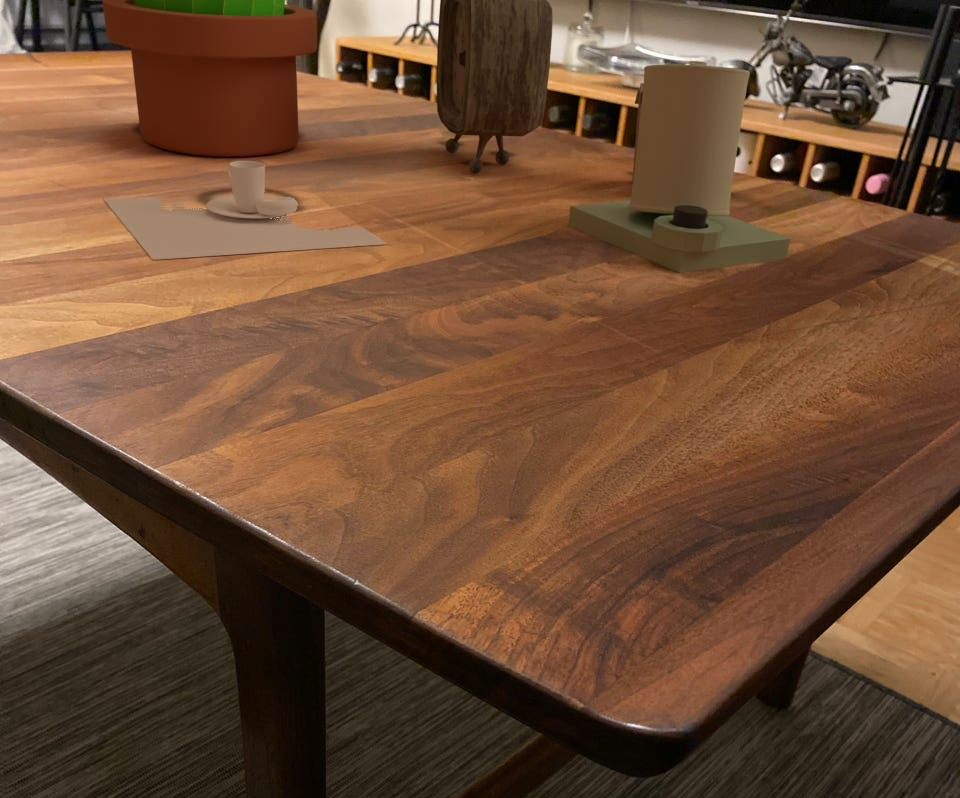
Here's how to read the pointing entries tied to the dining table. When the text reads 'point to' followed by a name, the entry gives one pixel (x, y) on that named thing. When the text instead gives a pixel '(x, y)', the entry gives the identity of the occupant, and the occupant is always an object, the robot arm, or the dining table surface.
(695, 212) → the tare button
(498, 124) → the tabletop clock
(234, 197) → the teacup and saucer
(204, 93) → the potted cactus
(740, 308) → the dining table surface
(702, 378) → the dining table surface
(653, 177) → the can
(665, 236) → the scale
